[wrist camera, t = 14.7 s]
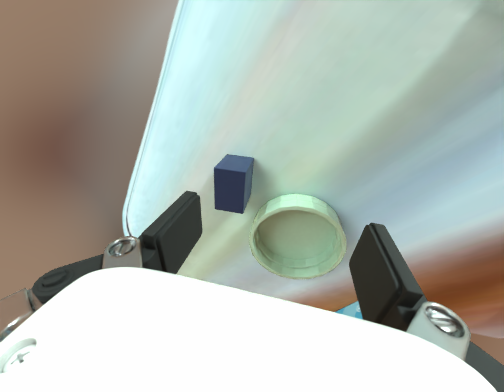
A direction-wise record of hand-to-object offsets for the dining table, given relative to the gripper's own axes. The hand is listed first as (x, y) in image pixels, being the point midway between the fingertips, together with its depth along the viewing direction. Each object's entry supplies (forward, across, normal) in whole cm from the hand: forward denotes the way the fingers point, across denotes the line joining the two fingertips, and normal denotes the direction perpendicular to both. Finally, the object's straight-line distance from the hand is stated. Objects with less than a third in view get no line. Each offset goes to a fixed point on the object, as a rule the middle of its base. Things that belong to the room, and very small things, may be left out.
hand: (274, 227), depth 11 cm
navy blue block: (+22, +8, +8) cm, 25 cm away
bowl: (+22, -4, +18) cm, 29 cm away
